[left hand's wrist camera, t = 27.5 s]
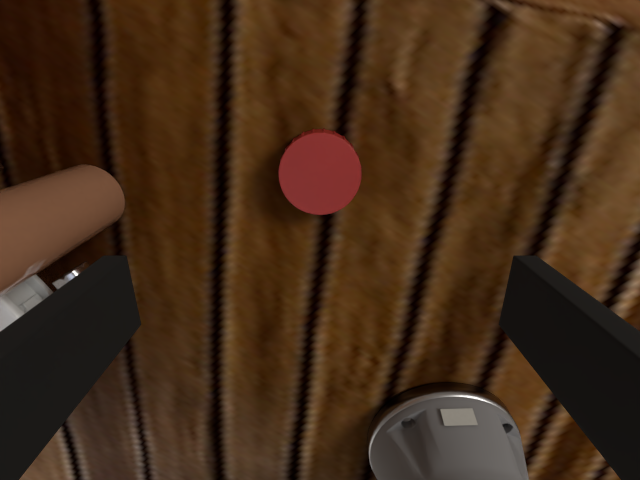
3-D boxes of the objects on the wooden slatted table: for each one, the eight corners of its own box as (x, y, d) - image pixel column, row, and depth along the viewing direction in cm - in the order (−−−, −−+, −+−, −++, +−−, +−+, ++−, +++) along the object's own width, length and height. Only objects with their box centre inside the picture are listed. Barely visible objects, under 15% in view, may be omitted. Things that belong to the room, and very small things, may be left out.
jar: (45, 187, 28) (-339, 327, 12) (90, 151, 27) (-264, 248, 11) (94, 237, 30) (-184, 421, 13) (138, 205, 29) (-104, 361, 12)
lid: (375, 166, 28) (379, 173, 25) (321, 220, 29) (321, 231, 27) (318, 110, 26) (317, 112, 24) (265, 170, 28) (260, 177, 25)
